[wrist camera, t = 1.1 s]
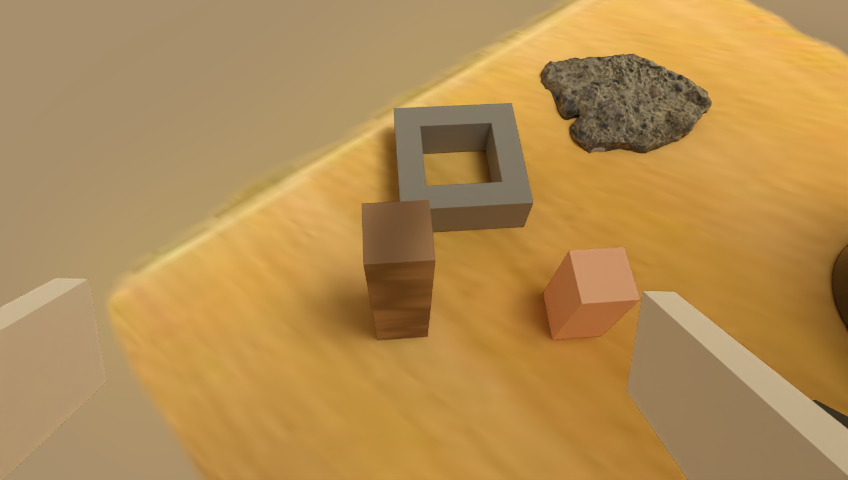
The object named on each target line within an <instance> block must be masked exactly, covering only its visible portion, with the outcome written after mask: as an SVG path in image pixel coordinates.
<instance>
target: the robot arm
mask: <svg viewBox="0 0 848 480" xmlns="http://www.w3.org/2000/svg"><path fill="white" fill-rule="evenodd" d="M833 290H834V295H835V299H836V303H837V306H838V309H839V311H840V313H841V316H842V318H843V320H844V322H845V323H846V325H847V327H848V246H847V247H846V248H845V249H844V250H843V251H842V252H841V254H840V255H839V257H838V259H837V261H836V264H835V267H834V272H833ZM105 383H106V376H105V370H104V365H103V359H102V353H101V347H100V341H99V336H98V330H97V324H96V318H95V312H94V307H93V301H92V295H91V289H90V284H89V279H71V278H55V279H53V280H51V281H49V282H47V283H46V284H44V285H42V286H40V287H38V288H36V289H34V290H32V291H30V292H28V293H26V294H25V295H23V296H21V297H19V298H17V299H15V300H13V301H11V302H10V303H7V304H6V305H4V306H2V307H0V480H3V479H4V478H5V477H7V476H8V475H9V474H10V473H11V472H12V471H13V470H14V469H15V468H16V467H17V466H18V465H19V464H20V463H21V462H22V461H23V460H24V459H26V458H27V457H28V456H29V455H30V454H31V453H32V452H33V451H34V450H35V449H36V448H37V447H38V446H39V445H40V444H41V443H42V442H43V441H45V440H46V439H47V438H48V437H49V436H50V435H51V434H52V433H53V432H54V431H55V430H56V429H57V428H58V427H59V426H60V425H62V424H63V423H64V422H65V421H66V420H67V419H68V418H69V417H70V416H71V415H72V414H73V413H74V412H75V411H76V410H77V409H78V408H79V407H81V406H82V405H83V404H84V403H85V402H86V401H87V400H88V399H89V398H90V397H91V396H92V395H93V394H94V393H95V392H96V391H97V390H98V389H100V388H101V387H102V386H103V385H104V384H105ZM627 393H628V394H629V395H630V397H631V398H632V400H633V401H634V403H635V404H636V406H637V407H638V409H639V410H640V411H641V413H642V414H643V416H644V417H645V419H646V420H647V422H648V423H649V424H650V426H651V427H652V429H653V430H654V432H655V433H656V435H657V436H658V438H659V439H660V440H661V442H662V443H663V445H664V446H665V448H666V449H667V451H668V452H669V454H670V455H671V456H672V458H673V459H674V461H675V462H676V464H677V465H678V467H679V468H680V469H681V471H682V472H683V474H684V475H685V477H686V478H687V480H848V417H847V416H845V415H843V414H841V413H839V412H837V411H836V410H834V409H832V408H830V407H828V406H826V405H824V404H822V403H820V402H818V401H816V400H811V399H809V398H808V397H807V396H806V395H804V394H803V393H802V392H800V391H799V390H798V389H797V388H795V387H794V386H793V385H792V384H790V383H789V382H788V381H787V380H785V379H784V378H783V377H782V376H780V375H779V374H778V373H777V372H775V371H774V370H773V369H771V368H770V367H769V366H768V365H766V364H765V363H764V362H763V361H761V360H760V359H759V358H758V357H756V356H755V355H754V354H753V353H751V352H750V351H749V350H748V349H746V348H745V347H744V346H742V345H741V344H740V343H739V342H737V341H736V340H735V339H734V338H732V337H731V336H730V335H729V334H727V333H726V332H725V331H724V330H722V329H721V328H720V327H719V326H717V325H716V324H715V323H713V322H712V321H711V320H710V319H708V318H707V317H706V316H705V315H703V314H702V313H701V312H700V311H698V310H697V309H696V308H695V307H693V306H692V305H691V304H690V303H688V302H687V301H686V300H684V299H683V298H682V297H681V296H679V295H678V294H677V293H676V292H666V291H643V294H642V300H641V307H640V313H639V319H638V325H637V331H636V337H635V343H634V349H633V355H632V361H631V368H630V374H629V380H628V386H627Z"/></svg>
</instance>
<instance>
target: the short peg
mask: <svg viewBox="0 0 848 480" xmlns="http://www.w3.org/2000/svg"><path fill="white" fill-rule="evenodd" d="M543 296H544V301H545V306H546V311H547V316H548V321H549V326H550V330H551V335H552V340H556V339H569V338H583V337H596V336H602V335H603V334H604V333H605V332H606V331H607V330H608V329H609V328H610V327H611V326H612V325H614V324H615V323H616V322H617V321H618V320H619V319H620V318H621V317H622V316H623V315H624V314H625V313H627V312H628V311H629V310H630V309H631V308H632V307H633V306H634V305H635V304H636V303H637V302H638V301H640V297H639V293H638V290H637V287H636V284H635V280H634V277H633V274H632V270H631V267H630V264H629V260H628V257H627V254H626V250H625V247H615V248H599V249H583V250H569V251H568V253H567V255H566V256H565V258H564V260H563V261H562V263H561V265H560V266H559V268H558V270H557V271H556V273H555V274H554V276H553V278H552V279H551V281H550V283H549V284H548V286H547V288H546V289H545V291H544V293H543Z"/></svg>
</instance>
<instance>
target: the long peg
mask: <svg viewBox="0 0 848 480" xmlns="http://www.w3.org/2000/svg"><path fill="white" fill-rule="evenodd" d="M362 228H363V263H364V270H365V275H366V281H367V286H368V291H369V297H370V302H371V307H372V313H373V318H374V323H375V329H376V334H377V339H378V340H386V339H400V338H414V337H428V328H429V318H430V308H431V298H432V288H433V279H434V269H435V252H434V242H433V232H432V222H431V212H430V203H429V200H417V201H399V202H381V203H363V204H362Z"/></svg>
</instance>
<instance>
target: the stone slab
mask: <svg viewBox="0 0 848 480" xmlns="http://www.w3.org/2000/svg"><path fill="white" fill-rule="evenodd" d="M541 83H542V84H543V85H544V87H545V89H548V90H550V91H551V93H552V95H553V97H554V99H555V102H556V104H557V107H558V110H559V112H560V114H561V116H562V117H564V118H566V119H567V118H571V117H573V116H575V115H579V116H580V117H578V118H577V119H576V120H575V122H574V123H573V124H572V125H571V127H570V134H571V135H572V138H573V140H574V141H575V142H577V143H579V145H580V147H582V148H583V149H584V150H586V151H587V152H588V153H592V152H605V151H611V150H615V149H623V150H633V151H636V152H642V153H645V152H648V151H652V150H655V149H658V148H660V147H662V146H664V145H667V144H669V143H671V142H673V141H679V140H680V139H681V137H682V136H684V135H688V133H689V132H690V131H692V129H693V127H694V125H695V124H696V122H697V121H698V120H699V119H700V118H701V116H702V114H704V113H706V112H707V111H708V109H709V108H710V106H711V104H712V103H711V100H710V98H709V97H708V92H707V91H706V90H704V89H703V88H701V87H700V86H697V85H696V84H695V83H693V82H692V81H691V80H689V79H687V78H686V77H684V76H683V75H679V74H676V73H675V72H672V71H669V70H667V69H666V68H665V67H663V66H658V65H657V64H656V63H655V62H653V61H651V60H648V59H645V58H642V57H639V56H637V55H635V54H628V55H624V54H623V55H614V56H612V57H611V56H607V57H587V58H585V59H579V58H572V59H569V60H565V61H559V62H551V61H550V62H549V63H548V64H547V65H546V66H545V68H544V69H543V70H542V80H541Z"/></svg>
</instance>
